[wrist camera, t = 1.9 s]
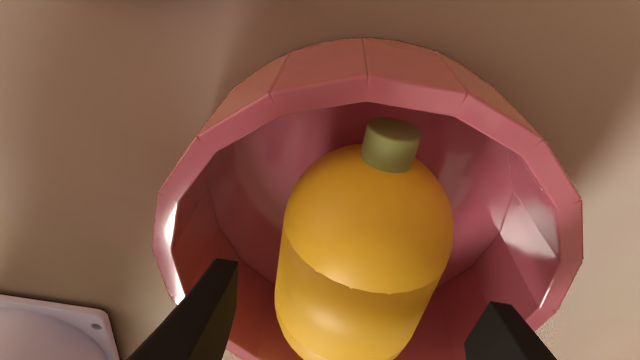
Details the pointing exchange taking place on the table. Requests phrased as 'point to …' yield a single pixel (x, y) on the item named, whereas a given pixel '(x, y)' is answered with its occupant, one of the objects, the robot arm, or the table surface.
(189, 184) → the pot
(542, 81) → the table surface
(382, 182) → the yellow rounded oblong piece
